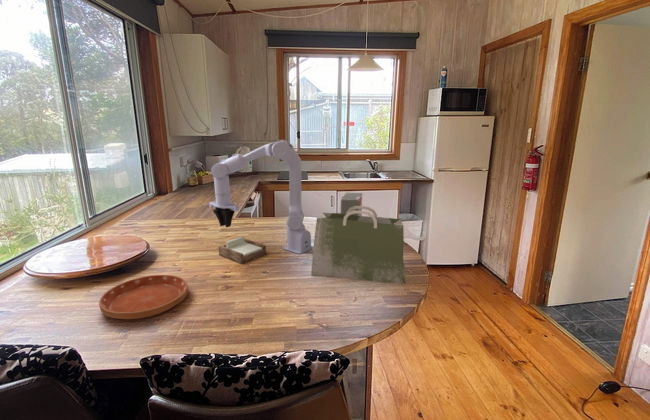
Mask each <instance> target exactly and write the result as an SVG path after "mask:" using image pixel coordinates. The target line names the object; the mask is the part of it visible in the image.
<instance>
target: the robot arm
mask: <svg viewBox="0 0 650 420" xmlns="http://www.w3.org/2000/svg"><path fill="white" fill-rule="evenodd" d="M264 156H267V157H268V156H269V157H272V156H274V157H275V158H277V159H279V160H281V161H283V162H284V163H285V164H287V165H288V167H289V172H288V173H289V181H288V182H289V183H288V185H289V188H288V189H289V208H288V217H287V219H286V225H287V226H286V236H287V237H286V239H287V245H286V246H284V247H283V248H282V249H283V250H286V251H289V252H292V253H295V254H298V255H301V254H304V253H305V252H308V251H310V250H312V249H313V247H312V233H311V232H310V231H309V230H307V228H305V227H306V226H305V224H304V223H303V222H304V219H305V214H304V213H303V210H302V209H303V205H302V158H301V157H300V155H299V154H298V151H296V149H295V148H294V145H292V144H291V143H290V142H289V141H288V140H285V139H280V140H278V141H273V142H270V143H266V144H264V145H261V146H260V147H258V148H256V149H253V150H251V151H250V152H248V153H245V154H241V153H233V154H232V156H231V157H229V158H226V159H225V158H223V159H221V162H217V163H215V164H214V165H212V167H211V169H210V171H211V172H210V173H211V175H212V176H213V182H214V183H213V184H214V186H213V187H214V196H215V201H210V202H209V203H208V204H209V208H214V209H213V210H212V212H213V213H214V215H215V216H216V218H217V220H218V223H219V226H220V227H224V226H225V228H229V227H231V226H232V220H233V217H234V215H235V212H239V211H240V205H238V204H235V203H233V202H232V198H231V186H230V176H229V175H230V174H234V173H236V172H238V171H240V170H242V169H243V170H244V169H245V168H246V167H247V164H248V163H249V162H251V161H255V160H256V159H258V158H261V157H264Z"/></svg>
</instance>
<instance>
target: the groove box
mask: <svg viewBox="0 0 650 420" xmlns="http://www.w3.org/2000/svg"><path fill="white" fill-rule="evenodd" d="M244 240H245V242H246V243H249V244H252V245H255V246H258V247H261V248H262V250H260V251H257V252H255V253H252V254H249V255H247V256H244V257H243V254H242V253H239V252H237V251H234V250H232V249H229V248H226V244H224V245H218V255H219V256H221V257H223V258H226V259H228V260H230V261H233V262H235V263H238V264H240V265H244V264H246V263H249V262H251V261H252V260H255V259H258V258H260V257H264V256H266V255H267V245H266V244H263V243H259V242H257V241H253V240H250V239H247V238H245V237H244Z"/></svg>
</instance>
